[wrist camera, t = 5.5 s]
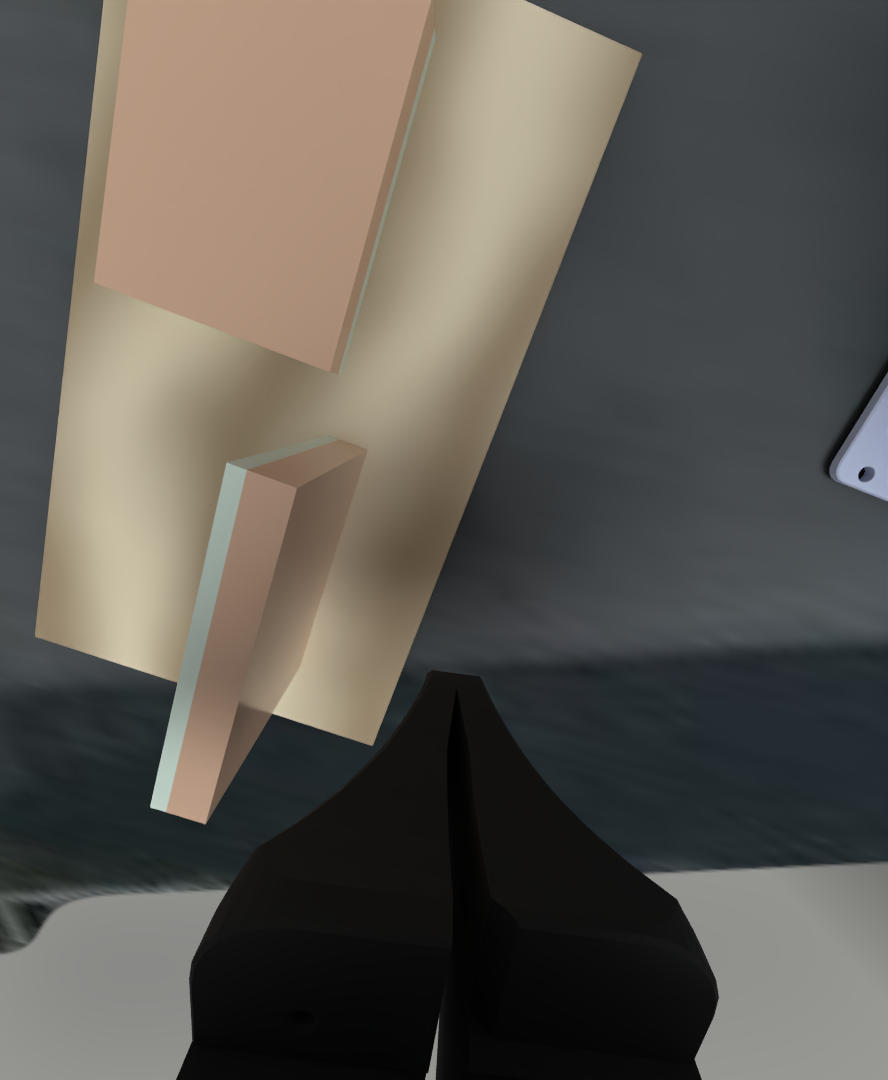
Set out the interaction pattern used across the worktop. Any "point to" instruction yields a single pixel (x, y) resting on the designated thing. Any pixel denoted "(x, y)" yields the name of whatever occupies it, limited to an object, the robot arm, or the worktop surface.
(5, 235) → the worktop surface
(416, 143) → the board
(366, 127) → the tile
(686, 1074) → the robot arm
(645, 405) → the worktop surface
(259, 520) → the tile
